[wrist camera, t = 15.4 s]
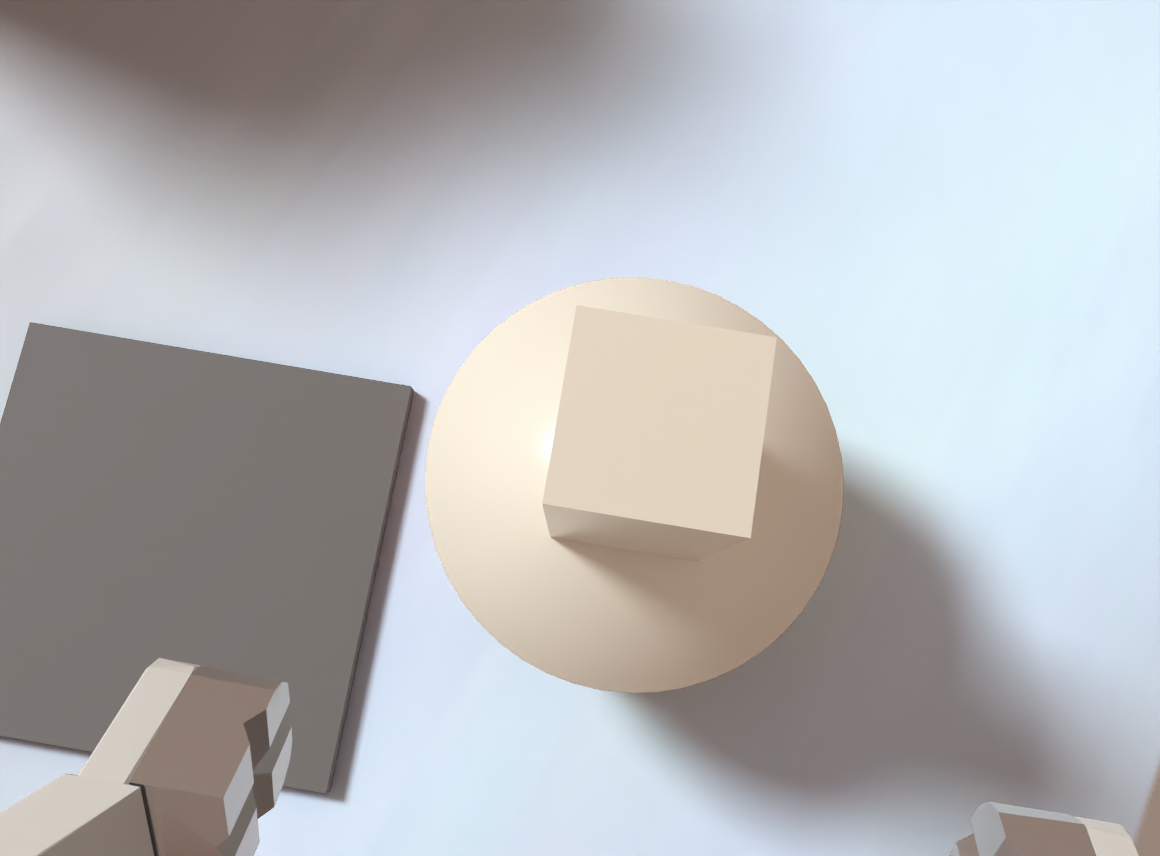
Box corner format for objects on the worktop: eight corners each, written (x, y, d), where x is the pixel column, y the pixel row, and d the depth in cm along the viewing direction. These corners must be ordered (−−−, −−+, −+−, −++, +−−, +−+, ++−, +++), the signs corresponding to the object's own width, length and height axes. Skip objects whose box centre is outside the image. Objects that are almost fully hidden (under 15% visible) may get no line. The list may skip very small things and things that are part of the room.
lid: (396, 651, 23) (308, 669, 15) (472, 265, 25) (428, 106, 17) (805, 721, 23) (927, 774, 15) (850, 326, 25) (979, 193, 17)
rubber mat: (-76, 718, 28) (-87, 720, 27) (38, 327, 30) (30, 322, 30) (330, 790, 28) (325, 793, 27) (413, 390, 30) (411, 386, 29)
